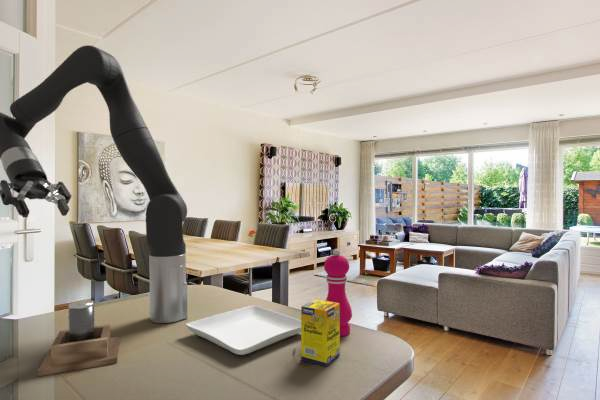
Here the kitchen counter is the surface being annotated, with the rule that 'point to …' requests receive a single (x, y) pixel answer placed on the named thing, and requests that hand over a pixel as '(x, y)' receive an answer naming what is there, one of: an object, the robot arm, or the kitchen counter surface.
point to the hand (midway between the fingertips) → (47, 214)
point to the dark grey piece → (81, 321)
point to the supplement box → (320, 332)
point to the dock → (80, 352)
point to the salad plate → (246, 328)
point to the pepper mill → (338, 287)
